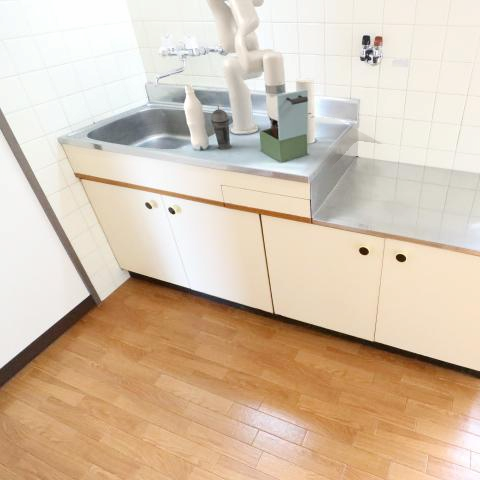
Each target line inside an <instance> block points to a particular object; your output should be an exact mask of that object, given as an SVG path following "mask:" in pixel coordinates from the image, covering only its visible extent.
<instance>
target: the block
mask: <svg viewBox="0 0 480 480" xmlns="http://www.w3.org/2000/svg"><path fill="white" fill-rule="evenodd" d="M270 128H271V133H272V137H274V138H276V139H279V133H278V124H276V125H271V124H270Z"/></svg>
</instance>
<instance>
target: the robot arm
mask: <svg viewBox="0 0 480 480" xmlns="http://www.w3.org/2000/svg"><path fill="white" fill-rule="evenodd" d="M226 2H227V3H228V4H227V3H226ZM264 2H265V0H206V3H207V5H208V7H209V10H210V12H211V13H212V16H213V18H214V22H215V27H216V32H217V36H218V41H219V43H220V47H221V49H222V51H223V52H224V53H225V54H236V55H235V56H230V57H227V58H225V59H224V60H223V62H222V71H223V74H224V78H225V82H226V87H227V92H228V97H229V104H230V109H231V117H232V125H233V126H232V127H231V128H230V132H231V133H232V134H235V135H250V134H253V133H256V132H258V131H259V127H258V125H256V124H255V121H254V119H255V118H254V113H253V112H254V111H253V103H252V94H251V90H250V87H249V86H248V85H247V84H246V83H245V81H247V80H253V79H258V78H260V77H262V76H264V87H265V95H266V96H265V97H266V98H265V99H266V101H265V103H266V114H267V117H268V119H269V121H270V126H271V125H276V124H278V109H277V95H281V94H286V93H287V92H286V76H285V63H284V61H285V60H284V55H283V54H282V53H281V52H277V51H275V50H273V49H270V48H266V49H261V48H260V44H259V38H258V36H257V33H256V30H257V29H258V28H259V26H260V18H259V15H258V14H257V13H258V12H257V10H256V8H258V7H262V5H263V4H264Z"/></svg>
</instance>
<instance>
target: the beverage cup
mask: <svg viewBox="0 0 480 480" xmlns="http://www.w3.org/2000/svg"><path fill="white" fill-rule="evenodd" d="M215 100H216V106H217V109H215V110H214V111H213V112H211V115H210V122H211V125H212V126H213V131H214V134H215V138H216V142H217V145H218V148H219V150H227V149H230V148H231V139H230V126H229V125H230V118H229V114H228V113H227V112H226V111H225V110H223V109H220V105H219V99H218V98H216V99H215Z"/></svg>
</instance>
